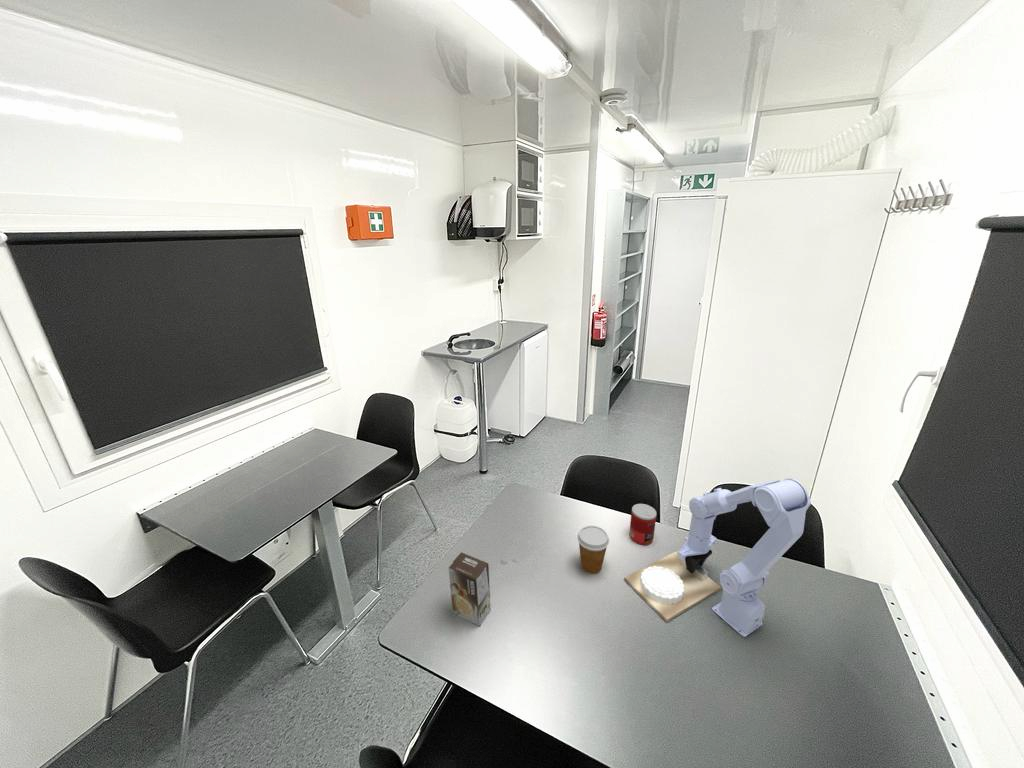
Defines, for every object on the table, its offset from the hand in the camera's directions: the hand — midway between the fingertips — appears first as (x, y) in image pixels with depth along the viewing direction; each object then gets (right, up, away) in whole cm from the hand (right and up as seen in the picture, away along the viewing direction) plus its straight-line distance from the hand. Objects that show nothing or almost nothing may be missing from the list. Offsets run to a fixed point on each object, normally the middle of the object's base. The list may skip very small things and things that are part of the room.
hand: (693, 569), depth 120 cm
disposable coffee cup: (-30, -1, +4) cm, 31 cm away
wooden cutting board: (-8, -3, -3) cm, 9 cm away
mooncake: (-12, -4, -5) cm, 13 cm away
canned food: (-11, +3, +16) cm, 19 cm away
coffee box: (-66, -7, -11) cm, 67 cm away
